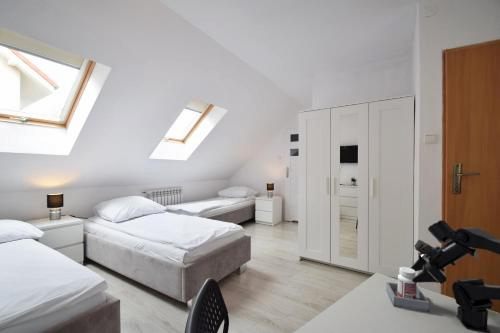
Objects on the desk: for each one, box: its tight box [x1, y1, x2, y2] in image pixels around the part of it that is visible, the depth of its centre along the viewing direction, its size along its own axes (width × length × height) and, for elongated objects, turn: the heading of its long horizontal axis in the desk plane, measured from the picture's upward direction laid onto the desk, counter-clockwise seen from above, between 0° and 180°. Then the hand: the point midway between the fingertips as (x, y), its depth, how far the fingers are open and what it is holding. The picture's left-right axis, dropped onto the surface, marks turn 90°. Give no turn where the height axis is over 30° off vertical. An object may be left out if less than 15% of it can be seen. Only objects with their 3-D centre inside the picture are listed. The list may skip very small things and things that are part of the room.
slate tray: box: [385, 281, 430, 313], centre depth 93 cm, size 11×11×4 cm
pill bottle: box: [397, 266, 418, 300], centre depth 93 cm, size 6×6×11 cm
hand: (411, 275), depth 92 cm, fingers open, 9 cm apart
